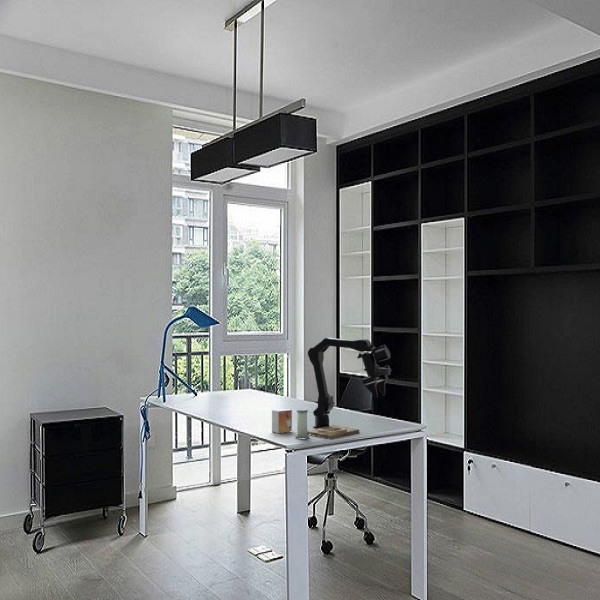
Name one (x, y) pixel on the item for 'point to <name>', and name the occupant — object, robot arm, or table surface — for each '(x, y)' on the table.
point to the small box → (281, 420)
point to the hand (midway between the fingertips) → (380, 396)
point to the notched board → (333, 431)
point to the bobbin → (302, 424)
